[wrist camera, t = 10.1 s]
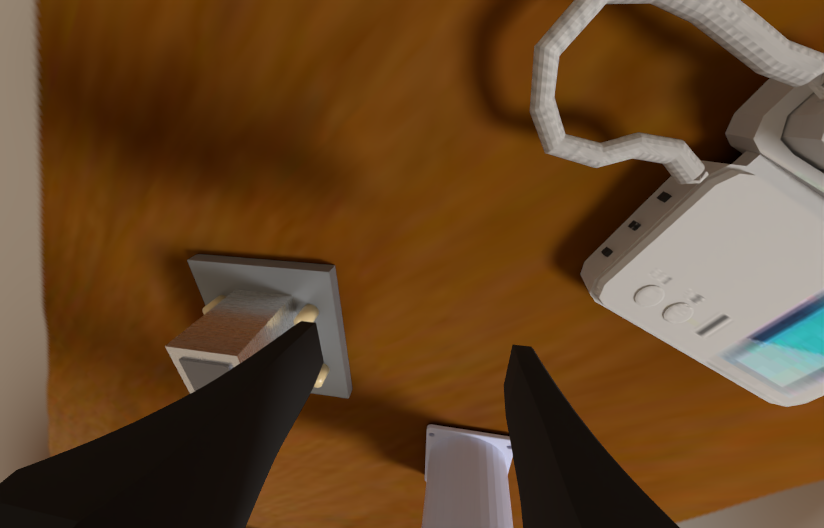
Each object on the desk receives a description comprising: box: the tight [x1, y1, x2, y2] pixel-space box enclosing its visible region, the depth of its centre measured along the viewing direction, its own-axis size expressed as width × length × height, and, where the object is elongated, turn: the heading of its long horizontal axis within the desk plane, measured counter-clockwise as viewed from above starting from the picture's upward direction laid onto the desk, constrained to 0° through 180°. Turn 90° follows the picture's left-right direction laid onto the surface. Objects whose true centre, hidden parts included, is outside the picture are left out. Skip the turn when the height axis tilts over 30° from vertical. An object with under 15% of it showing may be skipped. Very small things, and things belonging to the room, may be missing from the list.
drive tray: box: [187, 254, 352, 399], centre depth 24 cm, size 13×11×2 cm
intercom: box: [530, 0, 824, 407], centre depth 14 cm, size 13×4×25 cm
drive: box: [165, 290, 297, 394], centre depth 21 cm, size 8×5×6 cm, turn 0°
